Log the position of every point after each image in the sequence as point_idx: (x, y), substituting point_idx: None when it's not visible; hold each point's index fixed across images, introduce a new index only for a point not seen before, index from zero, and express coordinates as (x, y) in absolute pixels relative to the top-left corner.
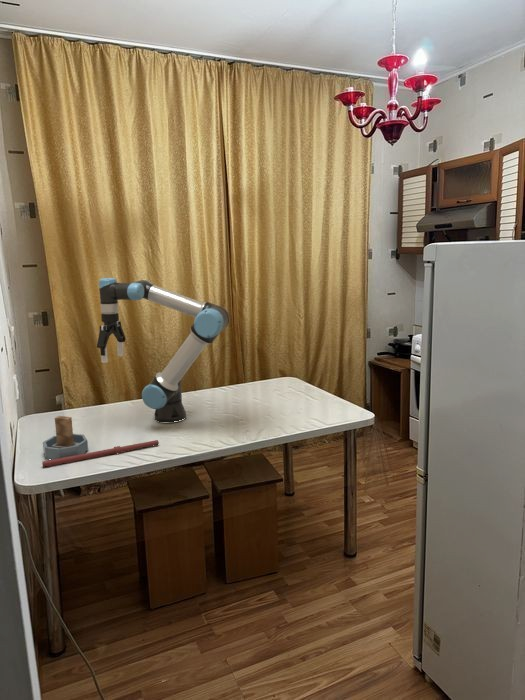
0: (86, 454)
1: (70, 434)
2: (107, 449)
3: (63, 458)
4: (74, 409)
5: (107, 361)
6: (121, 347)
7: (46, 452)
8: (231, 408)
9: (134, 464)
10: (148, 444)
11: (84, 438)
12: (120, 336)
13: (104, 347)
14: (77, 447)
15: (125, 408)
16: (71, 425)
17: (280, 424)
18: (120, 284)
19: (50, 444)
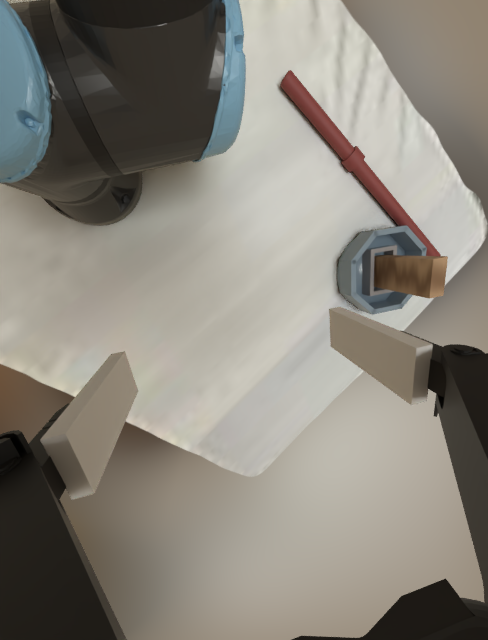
0: (397, 203)
1: (404, 256)
2: (370, 173)
3: (421, 233)
4: (173, 441)
5: (337, 309)
6: (99, 400)
7: None
8: None
9: (390, 76)
10: (309, 93)
11: (368, 243)
12: (27, 538)
13: (466, 347)
14: (404, 225)
15: (99, 351)
16: (416, 258)
17: None
18: None
19: (380, 304)
